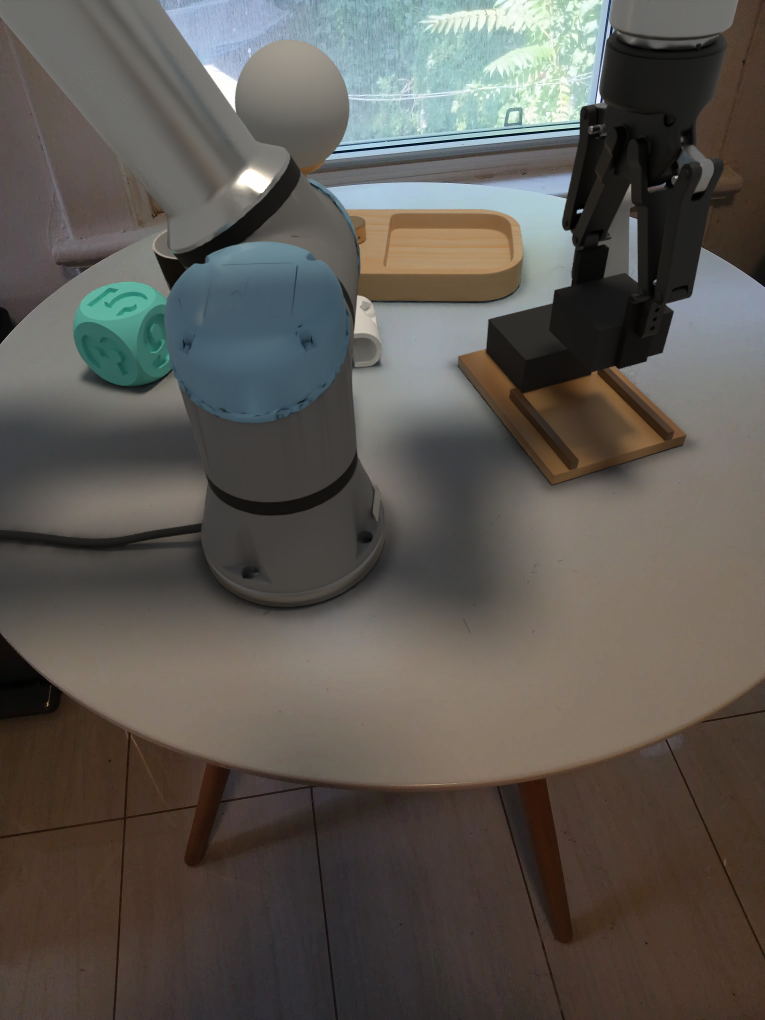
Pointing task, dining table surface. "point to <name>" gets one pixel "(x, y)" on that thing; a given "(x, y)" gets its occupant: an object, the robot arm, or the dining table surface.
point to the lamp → (380, 232)
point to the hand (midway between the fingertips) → (604, 339)
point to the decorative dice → (123, 333)
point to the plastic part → (366, 335)
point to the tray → (575, 419)
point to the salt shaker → (619, 239)
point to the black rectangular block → (598, 320)
